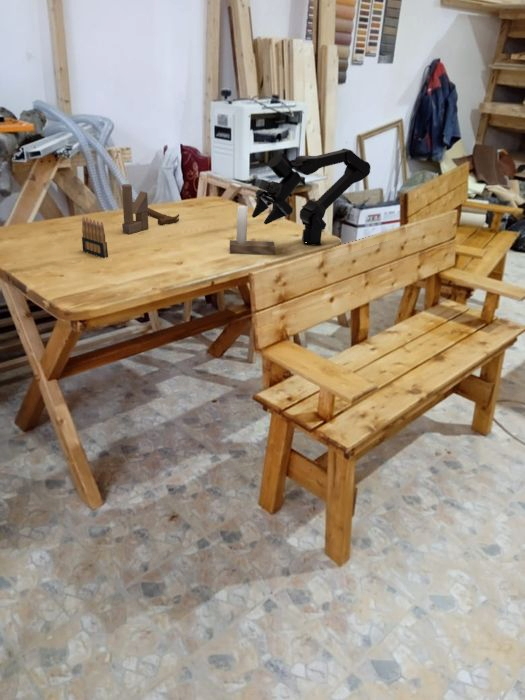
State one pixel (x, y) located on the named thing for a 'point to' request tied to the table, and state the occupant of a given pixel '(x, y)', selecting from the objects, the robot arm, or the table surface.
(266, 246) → the beam
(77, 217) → the table surface
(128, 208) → the brown wooden bracket
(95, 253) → the ammunition clip
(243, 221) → the dowel
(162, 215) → the hammer
